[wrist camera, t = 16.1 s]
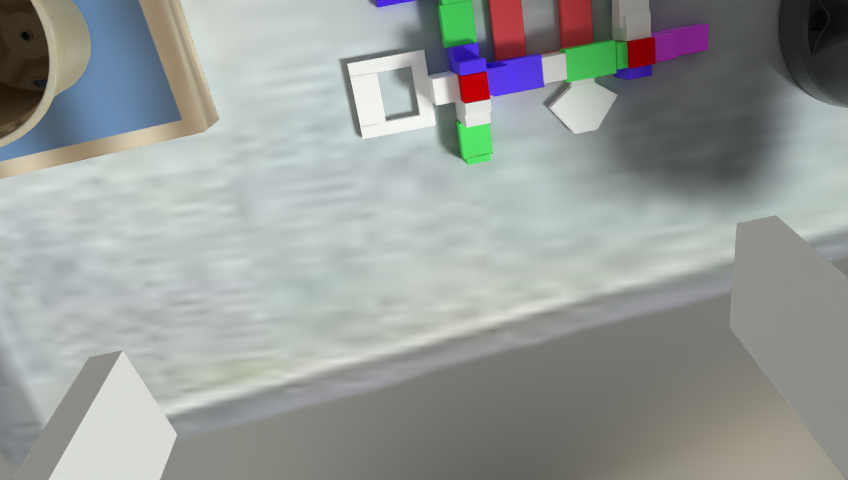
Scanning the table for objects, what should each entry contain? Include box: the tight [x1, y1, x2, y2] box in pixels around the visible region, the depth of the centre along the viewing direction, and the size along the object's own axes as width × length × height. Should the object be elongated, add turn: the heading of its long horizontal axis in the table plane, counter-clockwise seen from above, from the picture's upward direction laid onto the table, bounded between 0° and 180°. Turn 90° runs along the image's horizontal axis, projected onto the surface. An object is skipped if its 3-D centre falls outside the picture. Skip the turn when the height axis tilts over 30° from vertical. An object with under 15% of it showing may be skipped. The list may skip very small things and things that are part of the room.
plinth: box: [0, 0, 219, 179], centre depth 34 cm, size 14×14×5 cm
